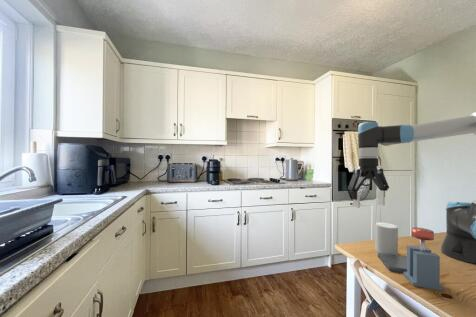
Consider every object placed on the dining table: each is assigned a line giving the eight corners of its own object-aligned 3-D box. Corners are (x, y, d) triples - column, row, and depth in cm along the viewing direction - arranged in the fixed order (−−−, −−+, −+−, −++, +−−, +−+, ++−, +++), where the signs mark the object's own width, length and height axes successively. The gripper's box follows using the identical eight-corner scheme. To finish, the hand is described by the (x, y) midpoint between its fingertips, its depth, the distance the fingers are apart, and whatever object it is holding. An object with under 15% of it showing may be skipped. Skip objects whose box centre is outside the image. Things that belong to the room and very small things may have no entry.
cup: (401, 257, 89) (401, 228, 89) (380, 255, 91) (380, 227, 91) (391, 249, 97) (392, 223, 97) (372, 247, 99) (372, 221, 99)
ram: (427, 258, 73) (427, 228, 73) (437, 266, 68) (437, 233, 68) (408, 256, 75) (408, 226, 75) (416, 263, 69) (416, 231, 69)
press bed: (411, 260, 86) (411, 256, 86) (428, 276, 75) (428, 271, 75) (377, 256, 90) (377, 252, 90) (388, 270, 78) (388, 266, 78)
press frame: (430, 278, 73) (430, 248, 73) (443, 290, 66) (443, 256, 66) (403, 274, 76) (403, 245, 76) (413, 285, 69) (413, 253, 69)
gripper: (382, 157, 100) (383, 202, 100) (338, 158, 93) (339, 206, 93) (398, 157, 93) (399, 205, 93) (351, 157, 86) (352, 209, 86)
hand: (369, 206), depth 93 cm, fingers open, 13 cm apart
